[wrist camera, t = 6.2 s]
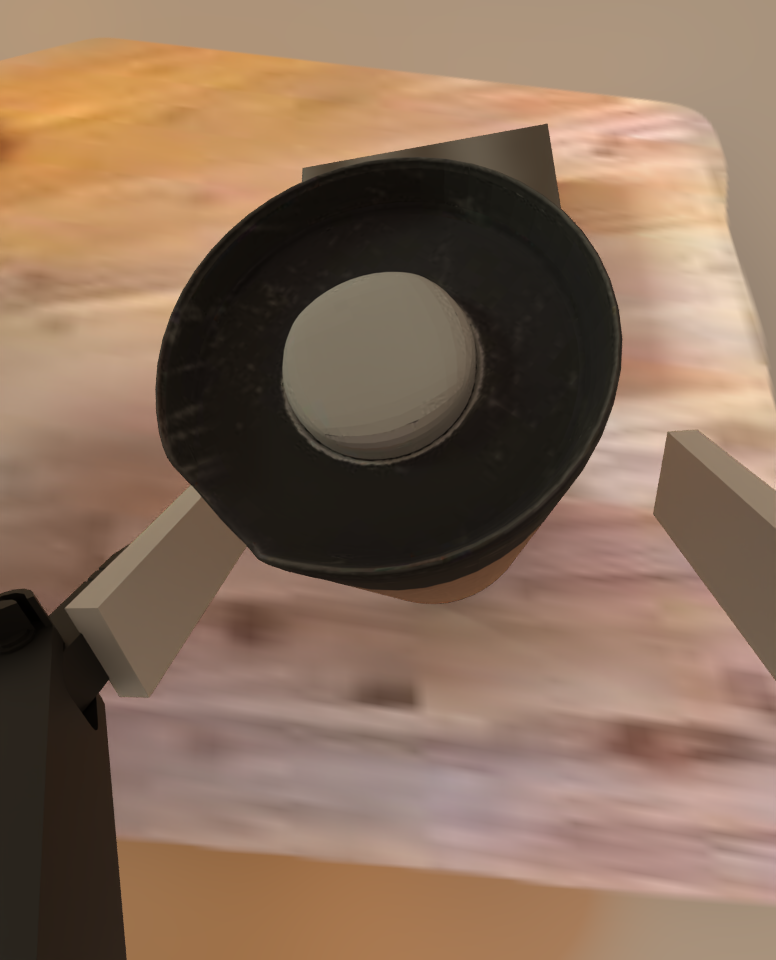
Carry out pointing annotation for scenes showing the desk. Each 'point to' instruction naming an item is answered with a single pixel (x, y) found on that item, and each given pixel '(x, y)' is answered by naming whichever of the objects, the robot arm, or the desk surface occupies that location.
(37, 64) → the desk surface
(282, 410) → the travel mug
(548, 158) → the stand
